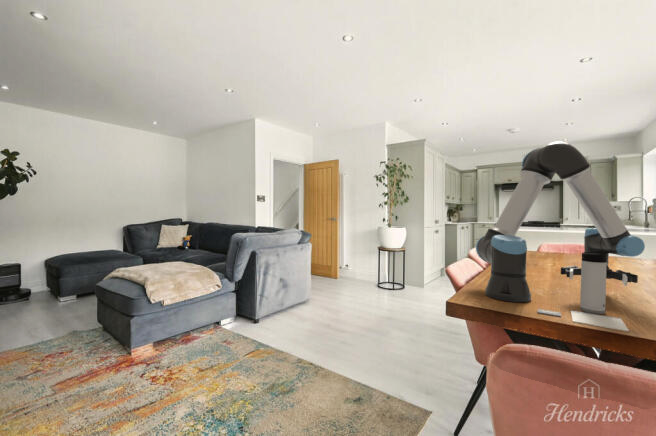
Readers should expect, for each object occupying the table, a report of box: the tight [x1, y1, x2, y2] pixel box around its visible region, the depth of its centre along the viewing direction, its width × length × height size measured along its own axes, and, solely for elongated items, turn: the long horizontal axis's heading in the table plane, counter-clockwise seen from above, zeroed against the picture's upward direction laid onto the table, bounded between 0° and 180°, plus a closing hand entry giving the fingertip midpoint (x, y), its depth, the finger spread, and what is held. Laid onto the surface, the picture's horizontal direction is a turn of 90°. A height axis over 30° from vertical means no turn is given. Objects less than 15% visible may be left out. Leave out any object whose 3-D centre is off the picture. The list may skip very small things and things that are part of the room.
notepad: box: [570, 310, 630, 332], centre depth 91 cm, size 12×12×1 cm
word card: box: [537, 308, 562, 318], centre depth 97 cm, size 6×4×1 cm, turn 53°
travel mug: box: [579, 251, 608, 315], centre depth 100 cm, size 6×7×20 cm
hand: (597, 278), depth 101 cm, fingers open, 13 cm apart
